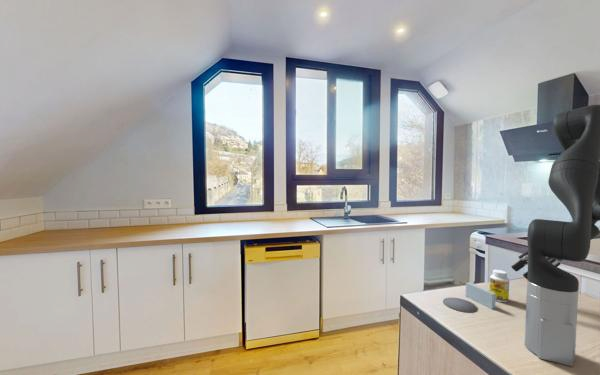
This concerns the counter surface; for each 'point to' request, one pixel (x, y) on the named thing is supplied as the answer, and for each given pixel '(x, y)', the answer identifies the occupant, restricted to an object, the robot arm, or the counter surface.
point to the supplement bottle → (500, 285)
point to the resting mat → (460, 304)
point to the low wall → (481, 295)
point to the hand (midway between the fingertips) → (519, 273)
